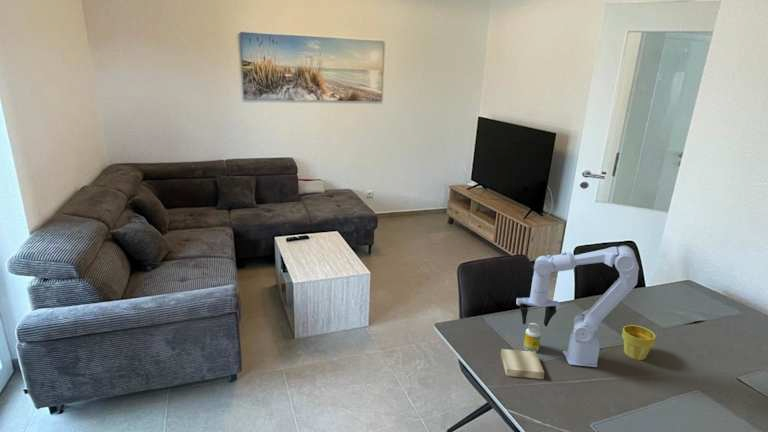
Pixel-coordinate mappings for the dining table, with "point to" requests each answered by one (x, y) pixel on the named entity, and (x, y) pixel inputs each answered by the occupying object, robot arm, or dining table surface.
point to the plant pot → (637, 341)
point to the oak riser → (522, 364)
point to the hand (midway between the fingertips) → (534, 323)
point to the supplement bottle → (532, 337)
